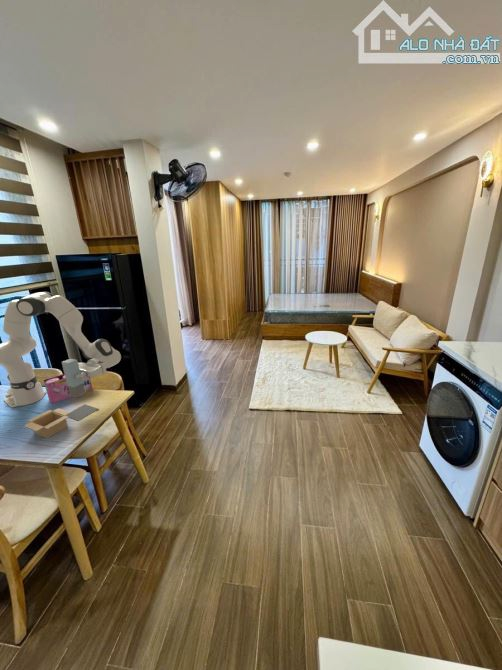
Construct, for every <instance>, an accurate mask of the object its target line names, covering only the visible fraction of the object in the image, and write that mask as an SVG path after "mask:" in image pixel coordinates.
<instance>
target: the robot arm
mask: <svg viewBox="0 0 502 670" xmlns="http://www.w3.org/2000/svg"><path fill="white" fill-rule="evenodd" d="M45 313H50V314H52V315H53V316H54V317H55V318H56V320H57V321H59V323H61V325H62V326H63V327H64V329H65V331H66V333H67V335H68V336H69V337H70V338H71V340H72V341H73V342H74V343H75V344H76V346H77V347H78V348H79V349H80V351H81V353H82V356H83V357H84V358H85V359H86V360H87V362H78V365H79V370H80V374H76V375H74V377H75V378H79V377H84V376H87V377H90V379H91V378H97V377H100V376H101V375H105V374H107V369H110V368H111V367H114V366H115V365H117V364H119V363H120V361H121V359H122V355H121V353H120V351H118V350H117V349H115V348H114V347H113V346H111V343H110V342H109V340H107V339H104V338H98V339H97V340H95V341H94V342H90V341H89V340H88V339H87V337H86V336H85V335H84V333H83V332H82V324H83V322H84V316H83V315H82V313H81V311H79V309H78V308H77V307H76V306H75V305H74V304H72V302H70V301H69V300H68V299H67V298H65V297H64V296H63V295H59V294H58V295H57V294H56V295H54V294H53V293H52V292H49V291H39V292H34V293H30V294H29V295H26V296H23V297H21V298H19V299H13V300H10V301H9V302H8V304H7V307H6V309H5V313H4V319H3V325H2V326H3V327H2V328H3V329H2V331H3V332H4V333H5V334H6V335H8V336H9V338H8V340H6V341H4V342H1V343H0V366H2V367H3V368H4V369H5V370H6V372H7V374H8V377H9V386H10V387H9V389H7V390H6V394H5V398H3V402H5V403H6V404H7V405H8V406H9V407H10V408H15V407H23V406H27V405H30V404H34V403H35V402H38V401H40V400H42V399H43V398H44V397H45V394H47V391H46V390H44V389H43V386H42V384H41V382H39V381H38V378H37V376H36V375H35V372H34V369H33V365H32V364H31V363H29V362H25V361H24V360H23V358H22V357H23V356H25V355H28V354H30V353H31V352H32V351H34V350H35V349H36V347H37V342H36V341H37V340H35V338H33V336H31V333H30V330H31V322H32V317H36V316H39V315H42V314H45Z"/></svg>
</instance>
